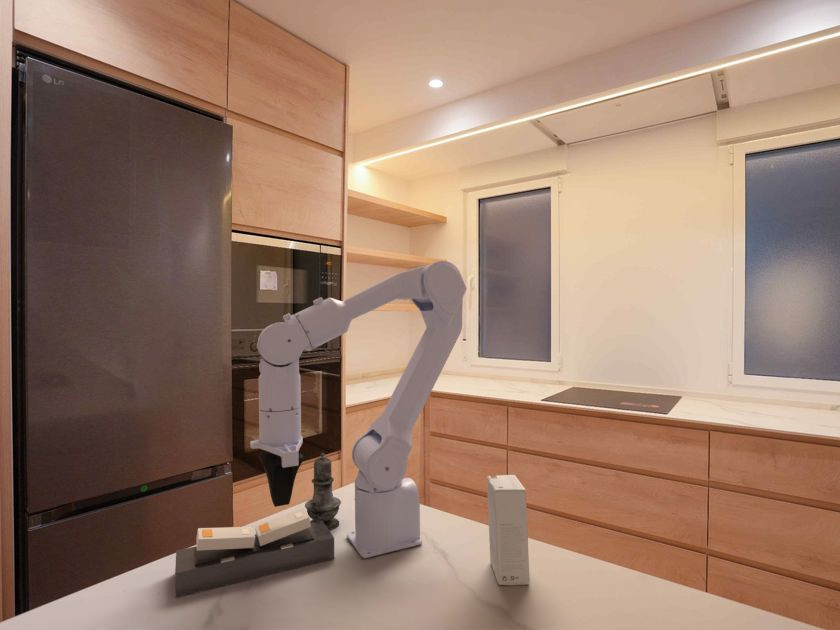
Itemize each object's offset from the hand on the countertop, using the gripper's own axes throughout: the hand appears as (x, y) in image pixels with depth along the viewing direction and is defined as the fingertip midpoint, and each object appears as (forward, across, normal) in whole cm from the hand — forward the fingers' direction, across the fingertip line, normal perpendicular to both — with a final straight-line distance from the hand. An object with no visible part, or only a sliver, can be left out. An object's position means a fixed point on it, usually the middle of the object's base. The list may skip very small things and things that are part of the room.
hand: (281, 504), depth 67 cm
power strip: (+8, 0, -3) cm, 9 cm away
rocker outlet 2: (+3, 0, 0) cm, 3 cm away
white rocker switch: (+3, 0, -7) cm, 8 cm away
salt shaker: (+8, -8, +8) cm, 14 cm away
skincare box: (+8, +18, +26) cm, 33 cm away
